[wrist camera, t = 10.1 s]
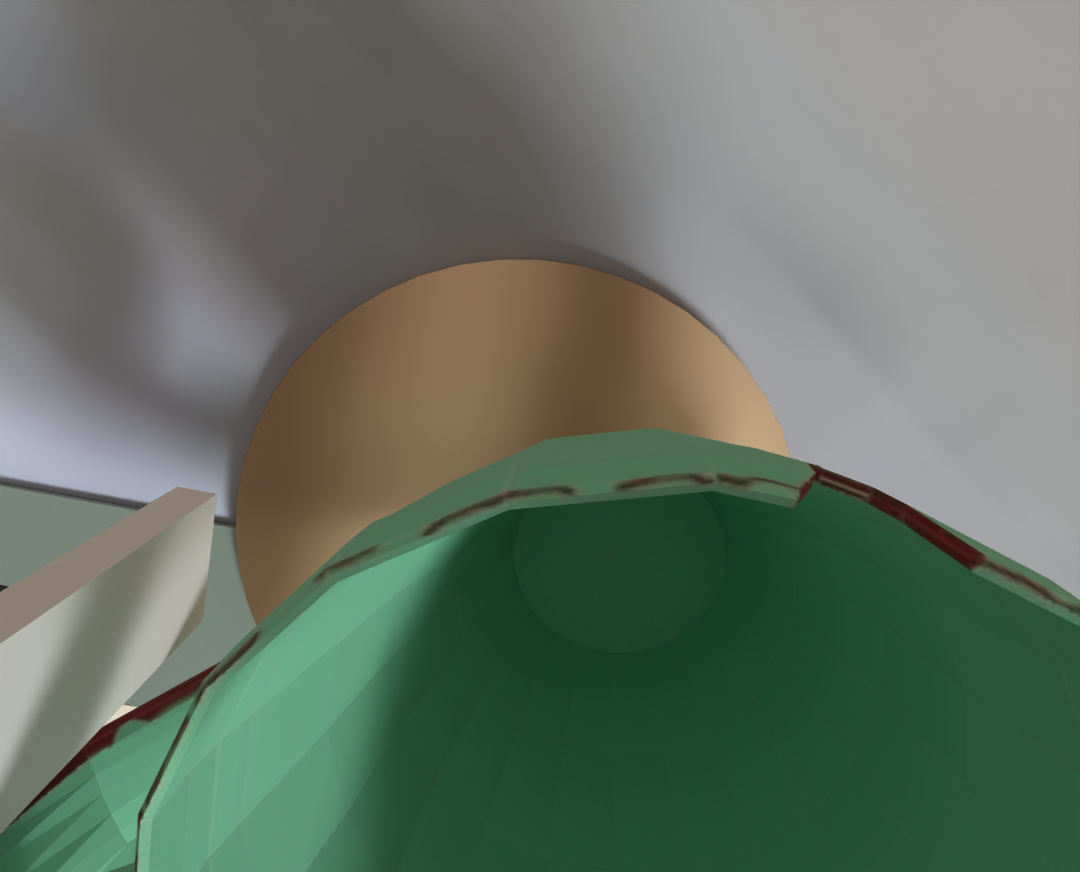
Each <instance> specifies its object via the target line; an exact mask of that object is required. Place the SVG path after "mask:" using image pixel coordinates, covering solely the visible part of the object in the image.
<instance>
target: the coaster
mask: <svg viewBox="0 0 1080 872" xmlns="http://www.w3.org/2000/svg"><path fill="white" fill-rule="evenodd" d="M646 428H660V429H665V430H669V431H674V432H679V433H684V434H688V435H693V436H698V437H702V438H707V439H712V440H717V441H721V442H726V443H731V444H735V445H741V446H747V447H753V448H757V449H761V450H764V451H768V452H771V453H775V454H778V455H782V456H785V457H789V458H791V456H790V453H789V450H788V447H787V444H786V441H785V439H784V436H783V433H782V430H781V427H780V425H779V423H778V421H777V419H776V417H775V415H774V413H773V411H772V409H771V407H770V405H769V403H768V401H767V399H766V397H765V395H764V394H763V392H762V391H761V389H760V388H759V387H758V385H757V384H756V382H755V381H754V379H753V378H752V377H751V375H750V374H749V372H748V371H747V369H746V368H745V366H744V365H743V364H742V363H741V362H740V361H739V359H738V358H737V357H736V356H735V355H734V354H733V353H732V352H731V351H730V350H729V349H728V348H727V347H726V345H725V344H724V343H723V342H722V341H721V340H720V339H719V338H718V337H717V336H716V335H715V334H714V333H712V332H711V331H710V330H709V329H707V328H706V327H705V326H704V325H702V324H701V323H700V322H699V321H698V320H696V319H695V318H694V317H693V316H691V315H690V314H689V313H688V312H686V311H685V310H683V309H681V308H680V307H678V306H676V305H675V304H673V303H671V302H670V301H668V300H667V299H665V298H663V297H662V296H660V295H658V294H657V293H655V292H653V291H651V290H648V289H646V288H644V287H642V286H639V285H637V284H635V283H632V282H630V281H628V280H625V279H623V278H621V277H619V276H615V275H612V274H608V273H605V272H601V271H598V270H594V269H591V268H587V267H583V266H580V265H573V264H566V263H559V262H552V261H545V260H492V261H485V262H477V263H470V264H462V265H457V266H453V267H450V268H446V269H442V270H439V271H435V272H431V273H428V274H424V275H420V276H418V277H416V278H413V279H411V280H409V281H406V282H404V283H402V284H399V285H397V286H395V287H392V288H390V289H388V290H385V291H383V292H381V293H380V294H378V295H376V296H375V297H373V298H371V299H370V300H368V301H366V302H365V303H363V304H361V305H360V306H358V307H356V308H355V309H353V310H351V311H350V312H349V313H347V314H346V315H345V316H344V317H342V318H341V319H340V320H339V321H337V322H336V323H335V324H334V325H333V326H331V327H330V328H329V329H328V330H326V331H325V332H324V333H323V334H321V335H320V336H319V337H318V338H317V339H316V340H315V341H314V342H313V344H312V345H311V346H310V347H309V348H308V349H307V350H306V351H305V352H304V353H303V354H302V355H301V356H300V357H299V359H298V360H297V361H296V362H295V363H294V364H293V365H292V367H291V368H290V370H289V371H288V373H287V374H286V375H285V377H284V378H283V380H282V381H281V383H280V384H279V385H278V387H277V388H276V390H275V391H274V393H273V394H272V396H271V398H270V400H269V402H268V404H267V406H266V408H265V410H264V412H263V413H262V415H261V417H260V419H259V421H258V423H257V425H256V427H255V430H254V433H253V436H252V439H251V442H250V445H249V448H248V451H247V454H246V457H245V460H244V463H243V468H242V474H241V479H240V484H239V490H238V495H237V511H236V542H237V553H238V563H239V570H240V574H241V578H242V583H243V587H244V591H245V595H246V599H247V603H248V605H249V608H250V610H251V613H252V616H253V618H254V621H255V623H256V626H257V625H258V624H259V623H260V622H261V621H262V620H264V619H265V618H266V617H267V616H268V615H269V614H270V613H271V612H272V611H273V610H274V609H276V608H277V607H278V606H279V605H280V604H281V603H282V602H283V601H284V600H285V599H286V598H288V597H289V596H290V595H291V594H292V593H293V592H294V591H295V590H296V589H297V588H298V587H299V586H301V585H302V584H303V583H304V582H305V581H306V580H307V579H308V578H309V577H310V576H311V575H313V574H314V573H315V572H316V571H317V570H318V569H319V568H320V567H321V566H322V565H323V564H324V563H326V562H327V561H328V560H329V559H330V558H331V557H332V556H333V555H334V554H335V553H336V552H338V551H339V550H340V549H341V548H342V547H343V546H344V545H345V544H346V543H347V542H348V541H349V540H351V539H352V538H353V537H354V536H355V535H357V534H358V533H359V532H360V531H362V530H363V529H364V528H366V527H367V526H368V525H370V524H371V523H372V522H374V521H377V520H379V519H381V518H383V517H386V516H388V515H390V514H393V513H395V512H396V511H398V510H400V509H402V508H404V507H406V506H407V505H409V504H411V503H413V502H415V501H417V500H418V499H420V498H422V497H424V496H426V495H427V494H429V493H431V492H433V491H435V490H437V489H438V488H440V487H442V486H444V485H446V484H448V483H449V482H452V481H454V480H456V479H459V478H461V477H463V476H465V475H468V474H470V473H472V472H474V471H477V470H479V469H481V468H483V467H486V466H488V465H490V464H493V463H495V462H497V461H499V460H502V459H504V458H506V457H508V456H511V455H513V454H515V453H517V452H520V451H522V450H524V449H527V448H529V447H531V446H533V445H536V444H538V443H540V442H542V441H545V440H547V439H553V438H560V437H568V436H577V435H587V434H597V433H607V432H617V431H626V430H636V429H646Z"/></svg>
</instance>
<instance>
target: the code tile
mask: <svg viewBox="0 0 1080 872" xmlns="http://www.w3.org/2000/svg"><path fill="white" fill-rule="evenodd" d="M139 509H140V508H134V507H129V506H123V505H118V504H112V503H107V502H101V501H95V500H90V499H84V498H79V497H73V496H68V495H62V494H57V493H51V492H46V491H40V490H35V489H29V488H24V487H18V486H13V485H7V484H1V483H0V585H4V586H11V585H13V584H14V583H16V582H18V581H20V580H21V579H23V578H25V577H26V576H28V575H30V574H31V573H33V572H35V571H36V570H38V569H40V568H41V567H43V566H45V565H46V564H48V563H50V562H52V561H53V560H55V559H57V558H58V557H60V556H62V555H63V554H65V553H67V552H68V551H70V550H72V549H73V548H75V547H77V546H79V545H80V544H82V543H84V542H85V541H87V540H89V539H90V538H92V537H94V536H95V535H97V534H99V533H100V532H102V531H104V530H105V529H107V528H109V527H111V526H112V525H114V524H116V523H117V522H119V521H121V520H122V519H124V518H126V517H127V516H129V515H131V514H132V513H134V512H136V511H137V510H139ZM255 627H256V623H255V621H254V618H253V616H252V613H251V610H250V608H249V605H248V603H247V599H246V595H245V591H244V587H243V583H242V578H241V574H240V570H239V563H238V553H237V542H236V526H234V525H228V524H223V523H217V522H214V524H213V534H212V543H211V552H210V561H209V571H208V580H207V589H206V598H205V607H204V617H203V621H202V622H201V623H200V624H199V625H198V626H197V627H196V628H195V629H194V631H193V632H192V633H191V634H190V635H189V636H188V637H187V638H186V639H185V640H184V641H183V642H182V643H181V644H180V645H179V646H178V647H177V648H176V650H175V651H174V652H173V653H172V654H171V655H170V656H169V657H168V658H167V659H166V660H165V661H164V662H163V663H162V664H161V665H160V666H159V667H158V668H157V670H156V671H155V672H154V673H153V674H152V675H151V676H150V677H149V678H148V679H147V680H146V681H145V682H144V683H143V684H142V685H141V686H140V687H139V689H138V690H137V691H136V692H135V693H134V694H133V695H132V696H131V697H130V698H129V699H128V700H127V701H126V702H125V703H124V704H123V705H122V706H121V708H120V709H119V710H118V711H117V712H116V713H115V714H114V715H113V716H112V717H111V718H110V719H109V720H108V721H107V722H106V723H105V724H104V725H106V724H108V723H110V722H112V721H113V720H115V719H117V718H119V717H121V716H122V715H124V714H126V713H128V712H130V711H132V710H133V709H135V708H137V707H139V706H141V705H142V704H144V703H146V702H148V701H150V700H152V699H153V698H155V697H157V696H159V695H161V694H162V693H164V692H166V691H168V690H170V689H171V688H173V687H175V686H177V685H179V684H181V683H182V682H184V681H186V680H188V679H190V678H191V677H193V676H195V675H197V674H199V673H201V672H202V671H204V670H206V669H208V668H210V667H211V666H213V665H215V664H217V663H219V662H220V661H222V660H223V659H224V658H225V657H226V656H227V654H228V653H229V652H230V651H231V650H232V649H233V648H234V647H235V646H236V645H237V644H238V643H239V642H240V641H241V640H242V639H243V638H244V637H245V636H246V635H247V634H248V633H249V632H251V631H252V630H253V629H254V628H255ZM104 725H103V726H104Z"/></svg>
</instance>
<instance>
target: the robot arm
mask: <svg viewBox="0 0 1080 872" xmlns="http://www.w3.org/2000/svg"><path fill="white" fill-rule="evenodd" d="M216 497H217V494H214V493H209V492H203V491H198V490H192V489H187V488H181V487H176V488H175V489H173V490H171V491H170V492H168V493H166V494H164V495H163V496H161V497H159V498H158V499H156V500H154V501H153V502H151V503H149V504H148V505H146V506H144V507H143V508H141V509H139V510H137V511H136V512H134V513H132V514H131V515H129V516H127V517H126V518H124V519H122V520H121V521H119V522H117V523H116V524H114V525H112V526H111V527H109V528H107V529H105V530H104V531H102V532H100V533H99V534H97V535H95V536H94V537H92V538H90V539H89V540H87V541H85V542H84V543H82V544H80V545H79V546H77V547H75V548H73V549H72V550H70V551H68V552H67V553H65V554H63V555H62V556H60V557H58V558H57V559H55V560H53V561H52V562H50V563H48V564H46V565H45V566H43V567H41V568H40V569H38V570H36V571H35V572H33V573H31V574H30V575H28V576H26V577H25V578H23V579H21V580H20V581H18V582H16V583H14V584H13V585H11V586H4V585H0V834H1V833H2V832H3V831H4V830H5V829H6V828H7V827H8V826H9V825H10V824H11V822H12V821H13V820H14V819H15V818H16V817H17V816H18V815H19V814H20V813H21V812H22V811H23V810H24V809H25V808H26V807H27V806H28V805H29V803H30V802H31V801H32V800H33V799H34V798H35V797H36V796H37V795H38V794H39V793H40V792H41V791H42V790H43V789H44V788H45V787H46V786H47V785H48V783H49V782H50V781H51V780H52V779H53V778H54V777H55V776H56V775H57V774H58V773H59V772H60V771H61V770H62V769H63V768H64V767H65V766H66V764H67V763H68V762H69V761H70V760H71V759H72V758H73V757H74V756H75V755H76V754H77V753H78V752H79V751H80V750H81V749H82V748H83V747H84V745H85V744H86V743H87V742H88V741H89V740H90V739H91V738H92V737H93V736H94V735H95V734H96V733H97V732H98V731H99V730H100V729H101V728H102V727H103V725H104V724H105V723H106V722H107V721H108V720H109V719H110V718H111V717H112V716H113V715H114V714H115V713H116V712H117V711H118V710H119V709H120V708H121V706H122V705H123V704H124V703H125V702H126V701H127V700H128V699H129V698H130V697H131V696H132V695H133V694H134V693H135V692H136V691H137V690H138V689H139V687H140V686H141V685H142V684H143V683H144V682H145V681H146V680H147V679H148V678H149V677H150V676H151V675H152V674H153V673H154V672H155V671H156V670H157V668H158V667H159V666H160V665H161V664H162V663H163V662H164V661H165V660H166V659H167V658H168V657H169V656H170V655H171V654H172V653H173V652H174V651H175V650H176V648H177V647H178V646H179V645H180V644H181V643H182V642H183V641H184V640H185V639H186V638H187V637H188V636H189V635H190V634H191V633H192V632H193V631H194V629H195V628H196V627H197V626H198V625H199V624H200V623H201V622H202V621H203V617H204V607H205V598H206V589H207V580H208V571H209V561H210V552H211V543H212V534H213V524H214V515H215V506H216Z"/></svg>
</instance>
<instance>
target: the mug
mask: <svg viewBox="0 0 1080 872" xmlns="http://www.w3.org/2000/svg"><path fill="white" fill-rule="evenodd" d="M0 872H1080V600H1079V599H1078V598H1076V597H1075V596H1073V595H1072V594H1070V593H1069V592H1067V591H1066V590H1064V589H1063V588H1062V587H1060V586H1059V585H1057V584H1056V583H1054V582H1053V581H1051V580H1050V579H1048V578H1046V577H1044V576H1042V575H1040V574H1038V573H1036V572H1035V571H1033V570H1031V569H1029V568H1027V567H1025V566H1023V565H1021V564H1019V563H1017V562H1015V561H1014V560H1012V559H1010V558H1008V557H1006V556H1004V555H1002V554H1000V553H998V552H996V551H994V550H993V549H991V548H989V547H987V546H985V545H983V544H981V543H979V542H977V541H975V540H974V539H972V538H970V537H968V536H966V535H964V534H962V533H960V532H958V531H956V530H954V529H953V528H951V527H949V526H947V525H945V524H943V523H941V522H939V521H937V520H935V519H933V518H932V517H930V516H928V515H926V514H924V513H922V512H920V511H918V510H916V509H914V508H913V507H911V506H909V505H907V504H905V503H903V502H901V501H899V500H897V499H895V498H893V497H891V496H889V495H887V494H885V493H883V492H881V491H879V490H877V489H875V488H873V487H871V486H868V485H865V484H863V483H860V482H857V481H855V480H852V479H850V478H847V477H844V476H842V475H839V474H836V473H834V472H831V471H828V470H826V469H823V468H821V467H820V466H818V465H813V464H810V463H806V462H803V461H799V460H796V459H792V458H789V457H785V456H782V455H778V454H775V453H771V452H768V451H764V450H761V449H757V448H753V447H747V446H741V445H735V444H731V443H726V442H721V441H717V440H712V439H707V438H702V437H698V436H693V435H688V434H684V433H679V432H674V431H669V430H665V429H660V428H646V429H636V430H626V431H617V432H607V433H597V434H587V435H577V436H568V437H560V438H553V439H547V440H545V441H542V442H540V443H538V444H536V445H533V446H531V447H529V448H527V449H524V450H522V451H520V452H517V453H515V454H513V455H511V456H508V457H506V458H504V459H502V460H499V461H497V462H495V463H493V464H490V465H488V466H486V467H483V468H481V469H479V470H477V471H474V472H472V473H470V474H468V475H465V476H463V477H461V478H459V479H456V480H454V481H452V482H449V483H448V484H446V485H444V486H442V487H440V488H438V489H437V490H435V491H433V492H431V493H429V494H427V495H426V496H424V497H422V498H420V499H418V500H417V501H415V502H413V503H411V504H409V505H407V506H406V507H404V508H402V509H400V510H398V511H396V512H395V513H393V514H390V515H388V516H386V517H383V518H381V519H379V520H377V521H374V522H372V523H371V524H370V525H368V526H367V527H366V528H364V529H363V530H362V531H360V532H359V533H358V534H357V535H355V536H354V537H353V538H352V539H351V540H349V541H348V542H347V543H346V544H345V545H344V546H343V547H342V548H341V549H340V550H339V551H338V552H336V553H335V554H334V555H333V556H332V557H331V558H330V559H329V560H328V561H327V562H326V563H324V564H323V565H322V566H321V567H320V568H319V569H318V570H317V571H316V572H315V573H314V574H313V575H311V576H310V577H309V578H308V579H307V580H306V581H305V582H304V583H303V584H302V585H301V586H299V587H298V588H297V589H296V590H295V591H294V592H293V593H292V594H291V595H290V596H289V597H288V598H286V599H285V600H284V601H283V602H282V603H281V604H280V605H279V606H278V607H277V608H276V609H274V610H273V611H272V612H271V613H270V614H269V615H268V616H267V617H266V618H265V619H264V620H262V621H261V622H260V623H259V624H258V625H257V626H256V627H255V628H254V629H253V630H252V631H251V632H249V633H248V634H247V635H246V636H245V637H244V638H243V639H242V640H241V641H240V642H239V643H238V644H237V645H236V646H235V647H234V648H233V649H232V650H231V651H230V652H229V653H228V654H227V656H226V657H225V658H224V659H223V660H222V661H220V662H219V663H217V664H215V665H213V666H211V667H210V668H208V669H206V670H204V671H202V672H201V673H199V674H197V675H195V676H193V677H191V678H190V679H188V680H186V681H184V682H182V683H181V684H179V685H177V686H175V687H173V688H171V689H170V690H168V691H166V692H164V693H162V694H161V695H159V696H157V697H155V698H153V699H152V700H150V701H148V702H146V703H144V704H142V705H141V706H139V707H137V708H135V709H133V710H132V711H130V712H128V713H126V714H124V715H122V716H121V717H119V718H117V719H115V720H113V721H112V722H110V723H108V724H106V725H104V726H103V727H102V728H101V729H100V730H99V731H98V732H97V733H96V734H95V735H94V736H93V737H92V738H91V739H90V740H89V741H88V742H87V743H86V744H85V745H84V747H83V748H82V749H81V750H80V751H79V752H78V753H77V754H76V755H75V756H74V757H73V758H72V759H71V760H70V761H69V762H68V763H67V764H66V766H65V767H64V768H63V769H62V770H61V771H60V772H59V773H58V774H57V775H56V776H55V777H54V778H53V779H52V780H51V781H50V782H49V783H48V785H47V786H46V787H45V788H44V789H43V790H42V791H41V792H40V793H39V794H38V795H37V796H36V797H35V798H34V799H33V800H32V801H31V802H30V803H29V805H28V806H27V807H26V808H25V809H24V810H23V811H22V812H21V813H20V814H19V815H18V816H17V817H16V818H15V819H14V820H13V821H12V822H11V824H10V825H9V826H8V827H7V828H6V829H5V830H4V831H3V832H2V833H1V834H0Z"/></svg>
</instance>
